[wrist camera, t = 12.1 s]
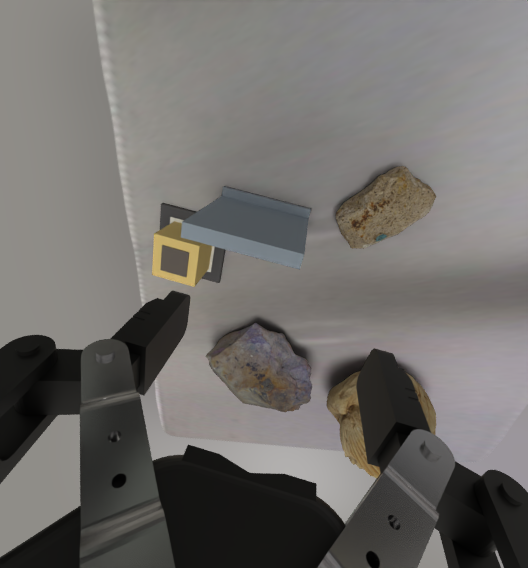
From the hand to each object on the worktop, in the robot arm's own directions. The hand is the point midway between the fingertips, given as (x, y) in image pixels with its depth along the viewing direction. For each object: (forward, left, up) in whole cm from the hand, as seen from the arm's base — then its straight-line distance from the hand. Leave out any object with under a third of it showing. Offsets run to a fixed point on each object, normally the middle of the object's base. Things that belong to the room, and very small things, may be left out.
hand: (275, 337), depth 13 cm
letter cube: (+10, -14, -29) cm, 34 cm away
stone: (+27, 0, -30) cm, 41 cm away
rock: (-1, +9, -30) cm, 32 cm away
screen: (+3, -5, -30) cm, 31 cm away
